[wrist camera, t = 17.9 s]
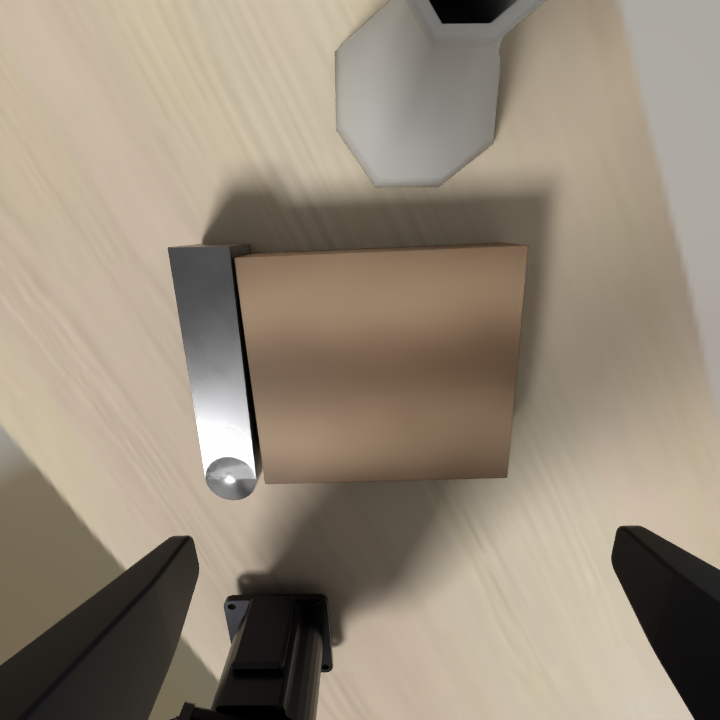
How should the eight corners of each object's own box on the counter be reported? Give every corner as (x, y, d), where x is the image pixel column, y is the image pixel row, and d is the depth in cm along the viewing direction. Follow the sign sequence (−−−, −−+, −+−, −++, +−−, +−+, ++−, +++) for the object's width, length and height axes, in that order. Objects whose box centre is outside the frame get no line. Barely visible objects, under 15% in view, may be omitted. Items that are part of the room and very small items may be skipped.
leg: (272, 465, 23) (258, 499, 20) (228, 466, 23) (208, 500, 20) (249, 243, 19) (229, 246, 16) (197, 244, 19) (167, 247, 16)
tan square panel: (489, 445, 22) (507, 477, 19) (277, 451, 23) (265, 484, 20) (503, 242, 19) (527, 245, 16) (253, 253, 19) (234, 258, 16)
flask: (307, 38, 16) (228, -221, 7) (478, -34, 16) (654, -438, 6) (362, 214, 19) (360, 200, 9) (515, 159, 18) (687, 81, 8)
